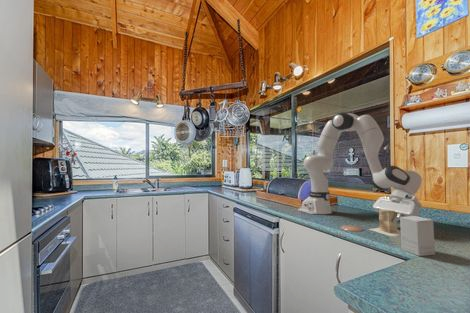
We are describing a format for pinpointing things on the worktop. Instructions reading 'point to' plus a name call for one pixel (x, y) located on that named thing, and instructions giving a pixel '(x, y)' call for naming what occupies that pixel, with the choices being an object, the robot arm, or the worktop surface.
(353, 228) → the coaster
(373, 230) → the card
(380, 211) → the maple block
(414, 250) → the supplement box
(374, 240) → the worktop surface
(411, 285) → the worktop surface
